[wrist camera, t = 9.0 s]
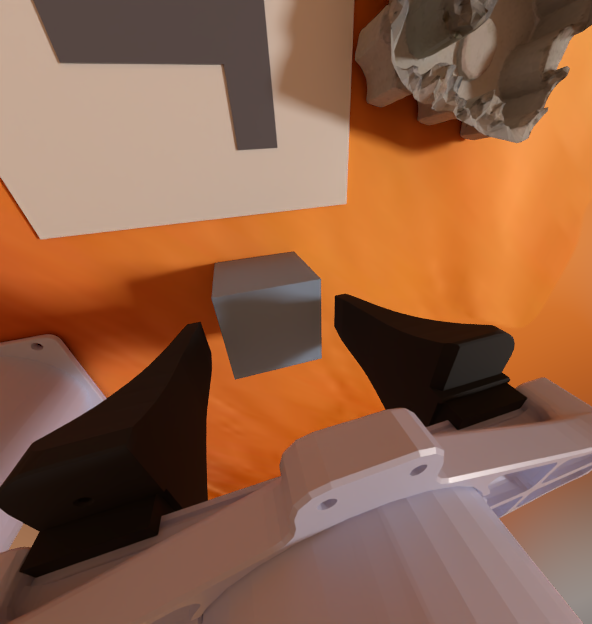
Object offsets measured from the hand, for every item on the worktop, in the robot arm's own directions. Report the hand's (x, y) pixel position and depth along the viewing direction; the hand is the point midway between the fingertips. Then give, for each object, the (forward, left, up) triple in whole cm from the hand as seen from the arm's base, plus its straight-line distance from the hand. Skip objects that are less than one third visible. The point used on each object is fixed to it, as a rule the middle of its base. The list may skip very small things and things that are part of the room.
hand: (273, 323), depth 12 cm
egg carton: (+11, +12, -4) cm, 17 cm away
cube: (0, 0, -4) cm, 4 cm away
